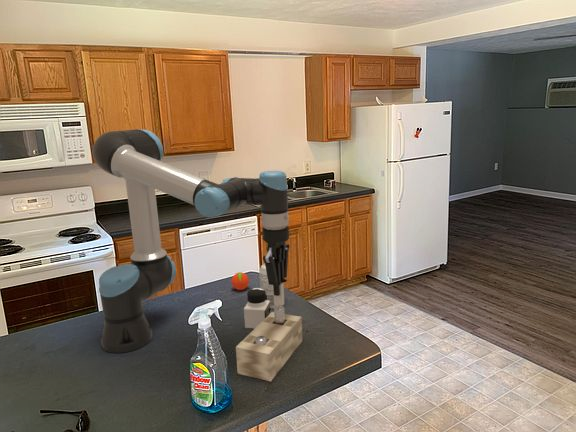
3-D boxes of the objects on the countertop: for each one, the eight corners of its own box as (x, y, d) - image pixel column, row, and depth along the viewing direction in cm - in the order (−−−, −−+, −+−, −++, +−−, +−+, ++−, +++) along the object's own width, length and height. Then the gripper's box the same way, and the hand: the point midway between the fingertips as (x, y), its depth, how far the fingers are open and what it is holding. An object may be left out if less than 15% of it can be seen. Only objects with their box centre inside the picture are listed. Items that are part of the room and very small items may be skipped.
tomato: (250, 293, 168) (249, 276, 167) (232, 294, 167) (231, 277, 166) (249, 285, 176) (248, 268, 174) (232, 286, 175) (230, 270, 174)
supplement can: (258, 301, 160) (256, 263, 157) (280, 298, 162) (278, 260, 159) (264, 311, 152) (262, 271, 149) (286, 307, 155) (284, 268, 151)
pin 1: (254, 365, 118) (253, 340, 116) (260, 359, 120) (258, 334, 118) (264, 367, 116) (263, 342, 115) (269, 361, 119) (268, 336, 117)
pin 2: (273, 332, 127) (272, 308, 126) (277, 327, 130) (276, 304, 128) (282, 334, 126) (281, 310, 124) (286, 329, 129) (285, 306, 127)
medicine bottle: (265, 329, 139) (264, 295, 136) (244, 328, 141) (242, 294, 138) (271, 319, 146) (269, 286, 143) (250, 318, 147) (248, 285, 145)
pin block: (237, 373, 116) (235, 346, 114) (273, 335, 136) (272, 311, 134) (270, 381, 112) (269, 354, 110) (302, 340, 132) (301, 316, 130)
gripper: (277, 233, 113) (281, 315, 119) (296, 221, 125) (299, 297, 130) (252, 231, 116) (257, 311, 122) (273, 220, 128) (277, 293, 133)
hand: (279, 303), depth 126 cm, fingers closed
